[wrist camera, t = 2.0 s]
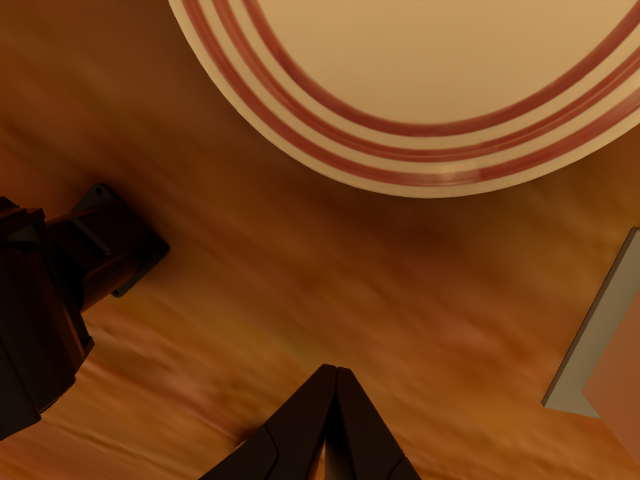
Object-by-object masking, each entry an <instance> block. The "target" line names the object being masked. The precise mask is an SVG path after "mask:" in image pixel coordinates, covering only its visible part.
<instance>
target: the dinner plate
mask: <svg viewBox="0 0 640 480" xmlns="http://www.w3.org/2000/svg"><path fill="white" fill-rule="evenodd" d="M168 1H169V3H170V6H171V8H172V11H173V13H174V15H175V17H176V19H177V21H178V23H179V25H180V27H181V29H182V31H183V33H184V35H185V37H186V39H187V41H188V43H189V44H190V46H191V48H192V49H193V51H194V53H195V54H196V56H197V58H198V60H199V61H200V63H201V64H202V66H203V67H204V69H205V70H206V72H207V73H208V75H209V76H210V78H211V79H212V81H213V82H214V83H215V85H216V86H217V87H218V88H219V90H220V91H221V92H222V94H223V95H224V96H225V97H226V98H227V100H228V101H229V102H230V103H231V104H232V105H233V106H234V108H235V109H236V110H237V111H238V112H239V113H240V114H241V115H242V116H243V117H244V118H245V119H246V120H247V121H248V122H249V123H250V124H251V125H252V126H253V127H254V128H255V129H256V130H257V131H258V132H259V133H260V134H261V135H263V136H264V137H265V138H266V139H267V140H269V141H270V142H271V143H272V144H274V145H275V146H277V147H278V148H279V149H281V150H282V151H283V152H285V153H286V154H288V155H289V156H291V157H292V158H294V159H295V160H297V161H299V162H300V163H302V164H304V165H305V166H307V167H309V168H311V169H313V170H315V171H317V172H318V173H320V174H323V175H325V176H327V177H329V178H332V179H334V180H336V181H339V182H342V183H345V184H347V185H350V186H353V187H357V188H360V189H364V190H368V191H373V192H378V193H383V194H388V195H394V196H403V197H413V198H445V197H457V196H466V195H473V194H479V193H484V192H490V191H494V190H498V189H502V188H506V187H510V186H514V185H517V184H521V183H524V182H527V181H530V180H532V179H535V178H538V177H541V176H543V175H546V174H548V173H550V172H553V171H555V170H558V169H560V168H562V167H564V166H566V165H569V164H571V163H573V162H575V161H577V160H580V159H581V158H583V157H585V156H587V155H589V154H590V153H592V152H594V151H596V150H598V149H600V148H601V147H603V146H605V145H607V144H608V143H610V142H611V141H613V140H615V139H616V138H618V137H619V136H621V135H623V134H624V133H626V132H627V131H629V130H630V129H631V128H633V127H634V126H636V125H637V124H639V123H640V0H168Z"/></svg>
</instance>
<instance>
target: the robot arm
mask: <svg viewBox="0 0 640 480" xmlns="http://www.w3.org/2000/svg"><path fill="white" fill-rule="evenodd" d="M100 189H102V192H103V193H101V191H100ZM44 218H45V215H44V213H43V210H42V208H31V209H26V208H20V207H19V205H15V204H14V203H13V202H11V201H10V200H8V199H7V198H6V197H4V196H2V197H0V441H2V440H3V439H5V438H7V437H8V436H10V435H12V434H14V433H16V432H19V431H21V430H23V429H25V428H27V427H29V426H31V425H33V424H35V423H37V422H39V421H40V420H41V415H40V414H41V413H43V412H44V411H46V410H47V409H48V408H50V407H51V406H52V405H53V404H54V403H55V402H56V401H57V400H58V399H59V398H60V397H61V396H62V395H63V394H64V393H65V392H66V391H67V390H69V389H70V388H71V387H72V385H73V384H74V383H75V381H76V378H75V374H76V373H77V371H78V369H79V368H80V366H81V365H82V363H83V362H84V360H85V359H86V357H87V356H88V354H89V353H90V351H91V350H92V348H93V347H94V345H95V344H94V341H93V339H92V337H91V336H89V334H88V331H87V329H86V326H85V324H84V321H83V318H82V316H81V313H83V312H84V311H86V310H87V309H88V308H90V307H91V306H93V305H94V304H96V303H97V302H98V301H100V300H101V299H103V298H104V297H105V296H107V295H108V294H112V295H113V296H114V297H117V298H119V297H121V296H123V295H124V294H125V293H126V292H127V291H128V290H130V289H131V288H132V287H133V286H134V285H135V284H136V283H137V282H138V281H139V280H140V279H141V278H143V277H144V276H145V275H146V274H147V273H148V272H149V271H150V270H151V269H152V268H153V267H154V266H155V265H157V264H158V263H159V262H160V261H161V260H162V259H163V258H164V257H165V256H166V255H167V254H168V253H169V247H168V246H167V244H166V243H165V242H164V241H163V240H162V239H161V238H160V237H159V236H158V235H157V234H156V233H155V232H154V231H153V230H152V229H151V228H150V227H149V226H148V225H147V224H146V223H145V222H144V221H143V220H142V219H141V218H140V217H139V216H138V215H137V214H136V213H135V212H134V211H133V210H132V209H131V208H130V207H129V206H128V205H127V204H126V203H125V202H123V201H122V200H121V199H120V198H119V197H118V196H117V195H116V194H115V193H114V192H113V191H112V190H111V189H110V188H109V187H108V186H107V185H106V184H104V183H98V184H95V185H93V186H92V188H91V189H90V190H89V191H88V192H87V193H86V195H85V196H84V197H83V198H82V199H81V200H80V202H79V203H78V204H77V205H76V206H75V207H74V209H73V210H72V211H71V212H70V213H69V214H67V215H64V216H61V217H58V218H55V219H52V220H49V221H46V222H44ZM159 248H161V249H162V250H163V252H161V251H160V249H159ZM117 290H118V291H119V292H118V291H117ZM325 437H326V438H325ZM324 442H325V480H421V478H420V477H419V475H418V474H417V472H416V471H415V469H414V468H413V466H412V464H411V463H410V461H409V460H408V458H407V457H405V454H404V453H403V451H402V449H401V448H400V446H399V445H398V443H397V442H396V440H395V438H394V437H393V435H392V434H391V432H390V431H389V429H388V427H387V426H386V424H385V423H384V421H383V420H382V418H381V416H380V415H379V413H378V412H377V410H376V409H375V407H374V405H373V404H372V402H371V401H370V399H369V398H368V396H367V394H366V393H365V391H364V390H363V388H362V386H361V385H360V383H359V382H358V380H357V379H356V377H355V375H354V374H353V372H352V371H351V370H350V369H348V368H343V367H337V369H336V366H334V365H329V364H323V365H321V366H320V367H319V368H318V369H317V370H316V371H315V372H314V373H313V375H312V376H311V377H310V378H309V379H308V380H307V381H306V382H305V383H304V384H303V385H302V386H301V387H300V388H299V389H298V390H297V391H296V392H295V393H294V394H293V395H292V396H291V397H290V398H289V399H288V400H287V401H286V402H285V403H284V404H283V405H282V406H281V407H280V408H279V409H278V410H277V411H276V412H275V413H274V414H273V415H272V416H271V417H270V418H269V419H268V420H267V421H266V422H265V423H264V424H263V425H261V426H260V427H259V428H258V429H257V430H256V432H255V433H254V434H252V435H251V436H250V437H249V438H248V439H247V440H246V441H245V442H244V443H243V444H242V445H241V446H240V447H238V448H237V449H236V450H235V451H234V452H232V453H231V454H230V455H229V456H227V457H226V458H225V459H224V460H223V461H221V462H220V463H219V464H217V465H216V466H215V467H213V468H212V469H211V470H210V471H208V472H207V473H206V474H204V475H203V476H202V477H201V478H199V479H198V480H315V476H316V472H317V469H318V465H319V461H320V457H321V454H322V450H323V446H324Z"/></svg>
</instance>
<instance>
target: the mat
mask: <svg viewBox="0 0 640 480" xmlns="http://www.w3.org/2000/svg"><path fill="white" fill-rule="evenodd" d="M639 289H640V229H634V228H632V230H631V232H630V234H629V235H628V237H627V239H626V241H625V243H624V245H623V247H622V249H621V251H620V253H619V255H618V257H617V259H616V260H615V262H614V264H613V266H612V268H611V270H610V272H609V274H608V276H607V278H606V280H605V282H604V284H603V285H602V287H601V289H600V291H599V293H598V295H597V297H596V299H595V301H594V303H593V305H592V307H591V309H590V310H589V312H588V314H587V316H586V318H585V320H584V322H583V324H582V326H581V328H580V330H579V332H578V334H577V335H576V337H575V339H574V341H573V343H572V345H571V347H570V349H569V351H568V353H567V355H566V357H565V359H564V360H563V362H562V364H561V366H560V368H559V370H558V372H557V374H556V376H555V378H554V380H553V382H552V384H551V385H550V387H549V389H548V391H547V393H546V395H545V397H544V399H543V401H542V405H543V406H544V407H545V408H550V409H555V410H560V411H565V412H570V413H575V414H580V415H585V416H590V417H595V418H600V419H602V418H601V417H600V416H599V415H598V413H597V412H596V411H595V409H594V408H593V407H592V406H591V404H590V403H589V402H588V401H587V399H586V398H585V397H584V395H583V394H582V393H581V390H582V389H583V387H584V385H585V383H586V382H587V380H588V378H589V376H590V375H591V373H592V371H593V369H594V368H595V366H596V364H597V362H598V361H599V359H600V357H601V355H602V354H603V352H604V350H605V348H606V347H607V345H608V343H609V341H610V340H611V338H612V336H613V334H614V333H615V331H616V329H617V327H618V326H619V324H620V322H621V320H622V319H623V317H624V315H625V313H626V312H627V310H628V308H629V306H630V305H631V303H632V301H633V299H634V297H635V296H636V294H637V292H638V290H639Z"/></svg>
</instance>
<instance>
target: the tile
mask: <svg viewBox="0 0 640 480" xmlns="http://www.w3.org/2000/svg"><path fill="white" fill-rule="evenodd" d="M581 393H582V394H583V395H584V397H585V398H586V399H587V401H588V402H589V403H590V404H591V406H592V407H593V408H594V409H595V411H596V412H597V413H598V415H599V416H600V417H601V418H602V420H603V421H604V422H605V423H606V425H607V426H608V427H609V429H610V430H611V431H612V432H613V434H614V435H615V436H616V437H617V439H618V440H619V441H620V443H621V444H622V445H623V446H624V448H625V449H626V450H627V452H628V453H629V454H630V455H631V457H632V458H633V459H634V460H635V462H636V463H637V464H638V466H639V467H640V289H639V290H638V292H637V294H636V296H635V297H634V299H633V301H632V303H631V305H630V306H629V308H628V310H627V312H626V313H625V315H624V317H623V319H622V320H621V322H620V324H619V326H618V327H617V329H616V331H615V333H614V334H613V336H612V338H611V340H610V341H609V343H608V345H607V347H606V348H605V350H604V352H603V354H602V355H601V357H600V359H599V361H598V362H597V364H596V366H595V368H594V369H593V371H592V373H591V375H590V376H589V378H588V380H587V382H586V383H585V385H584V387H583V389H582V390H581Z"/></svg>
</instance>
